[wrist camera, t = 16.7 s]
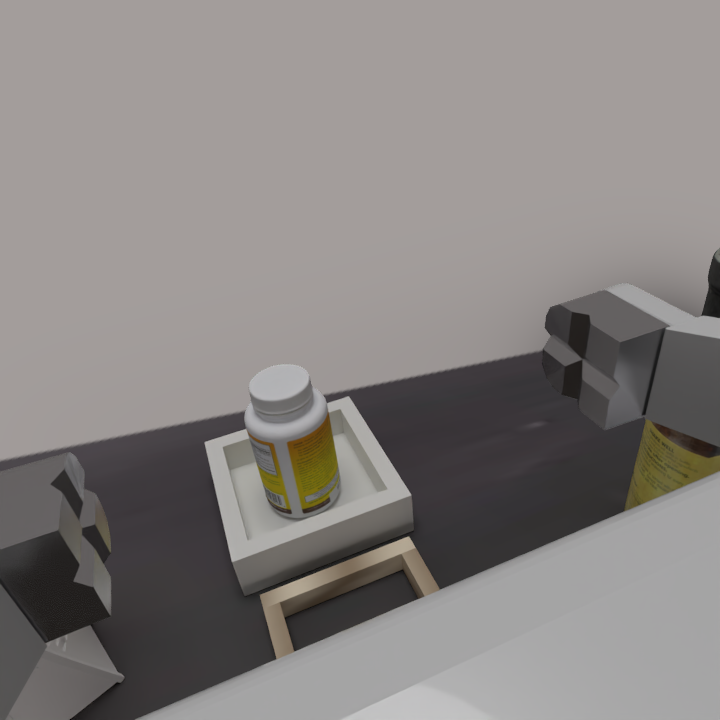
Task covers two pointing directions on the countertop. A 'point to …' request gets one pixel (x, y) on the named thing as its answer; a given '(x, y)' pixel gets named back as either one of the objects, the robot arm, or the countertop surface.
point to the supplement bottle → (292, 441)
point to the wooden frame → (342, 585)
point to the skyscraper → (66, 678)
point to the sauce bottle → (675, 439)
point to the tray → (314, 533)
